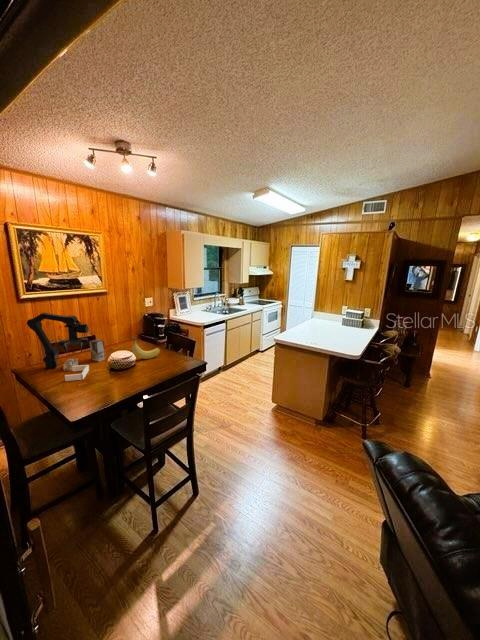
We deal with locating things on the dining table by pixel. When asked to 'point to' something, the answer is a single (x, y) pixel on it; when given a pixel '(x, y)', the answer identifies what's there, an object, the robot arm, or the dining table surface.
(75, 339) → the robot arm
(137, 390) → the dining table surface
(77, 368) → the beige u-shaped block
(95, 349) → the coffee box
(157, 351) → the banana
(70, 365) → the crate with rolls
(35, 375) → the dining table surface
